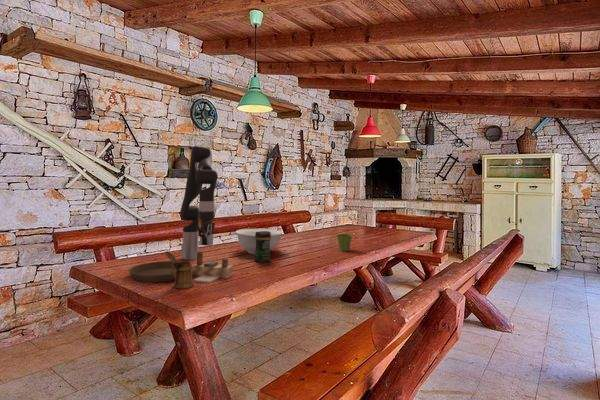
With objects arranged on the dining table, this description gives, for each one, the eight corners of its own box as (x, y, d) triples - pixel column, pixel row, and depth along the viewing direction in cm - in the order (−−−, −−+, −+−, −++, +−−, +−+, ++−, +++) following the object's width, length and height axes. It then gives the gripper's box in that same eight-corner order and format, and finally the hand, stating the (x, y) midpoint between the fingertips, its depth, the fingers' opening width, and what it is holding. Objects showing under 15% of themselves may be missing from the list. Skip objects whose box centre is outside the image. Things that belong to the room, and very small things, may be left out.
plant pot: (341, 248, 279) (341, 233, 279) (355, 250, 272) (355, 235, 272) (332, 250, 270) (333, 235, 269) (347, 253, 263) (347, 237, 262)
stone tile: (193, 281, 185) (193, 279, 185) (202, 276, 193) (202, 275, 193) (210, 282, 183) (210, 281, 183) (218, 278, 191) (218, 276, 191)
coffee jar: (258, 263, 227) (259, 232, 226) (252, 260, 233) (253, 230, 232) (272, 261, 232) (273, 231, 231) (266, 258, 239) (266, 229, 238)
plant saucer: (118, 275, 194) (118, 266, 194) (173, 265, 217) (173, 257, 217) (146, 288, 173) (146, 278, 173) (203, 275, 196) (203, 267, 196)
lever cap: (200, 245, 186) (200, 235, 185) (203, 243, 190) (203, 234, 189) (209, 245, 185) (209, 235, 184) (212, 244, 188) (213, 234, 188)
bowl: (291, 251, 264) (291, 231, 263) (262, 259, 236) (263, 236, 235) (255, 246, 281) (255, 226, 280) (225, 253, 254) (225, 231, 253)
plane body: (191, 275, 196) (192, 252, 195) (198, 272, 203) (198, 250, 202) (227, 278, 191) (227, 255, 191) (232, 274, 198) (233, 252, 197)
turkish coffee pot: (160, 287, 173) (160, 249, 172) (187, 282, 183) (187, 245, 182) (170, 292, 167) (170, 252, 166) (197, 286, 177) (197, 248, 176)
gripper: (206, 208, 194) (206, 241, 195) (192, 211, 180) (192, 246, 181) (219, 209, 192) (219, 242, 193) (206, 211, 178) (206, 247, 179)
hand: (206, 244), depth 187 cm, fingers closed on lever cap, 4 cm apart
